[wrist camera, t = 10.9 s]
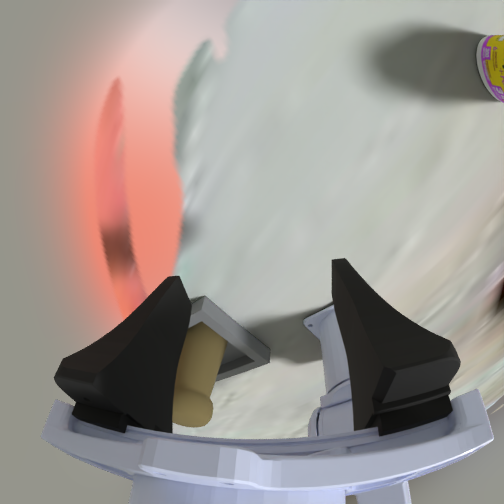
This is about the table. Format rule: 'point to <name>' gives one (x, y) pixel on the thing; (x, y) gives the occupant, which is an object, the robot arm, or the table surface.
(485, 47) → the supplement bottle
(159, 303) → the robot arm
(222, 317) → the socket holder
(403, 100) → the table surface
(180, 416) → the cork
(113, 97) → the table surface
